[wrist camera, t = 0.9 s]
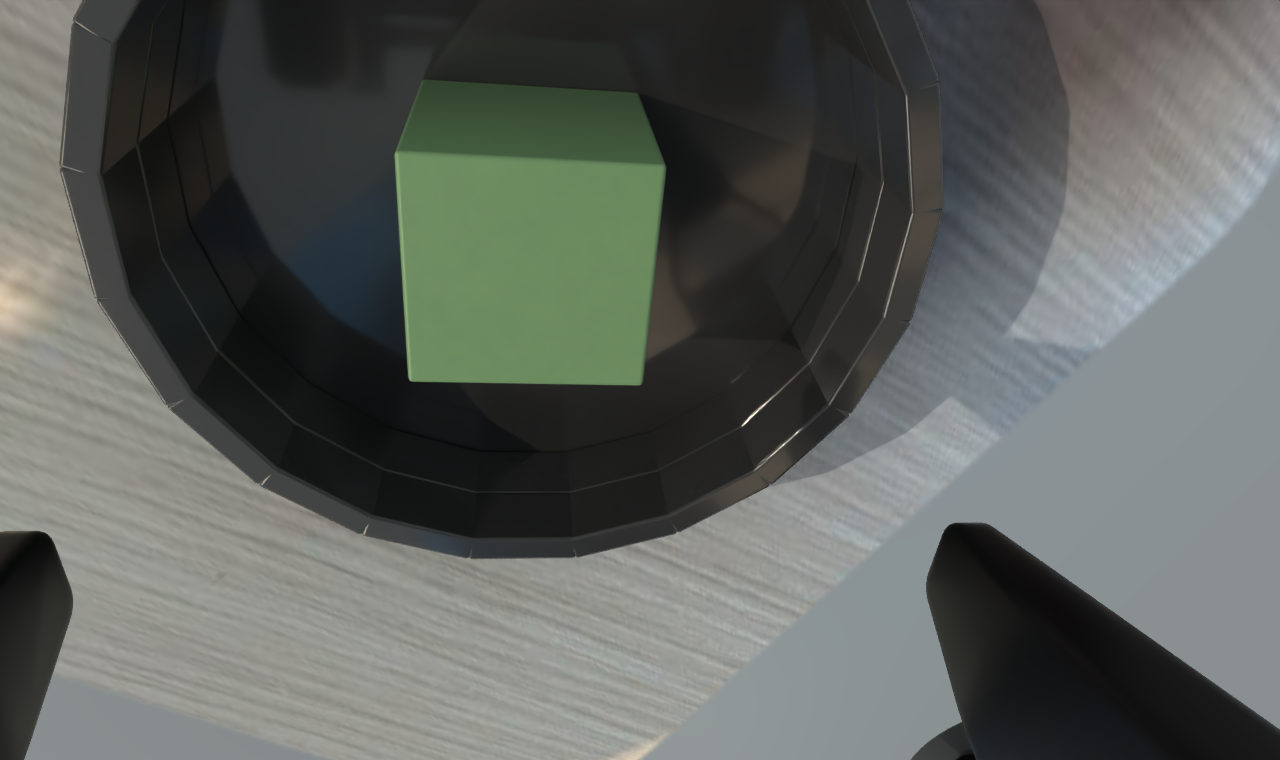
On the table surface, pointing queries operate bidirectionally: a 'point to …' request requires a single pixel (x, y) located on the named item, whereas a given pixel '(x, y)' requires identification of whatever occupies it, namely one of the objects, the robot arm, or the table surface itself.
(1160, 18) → the table surface
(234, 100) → the pan
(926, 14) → the table surface
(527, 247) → the block
